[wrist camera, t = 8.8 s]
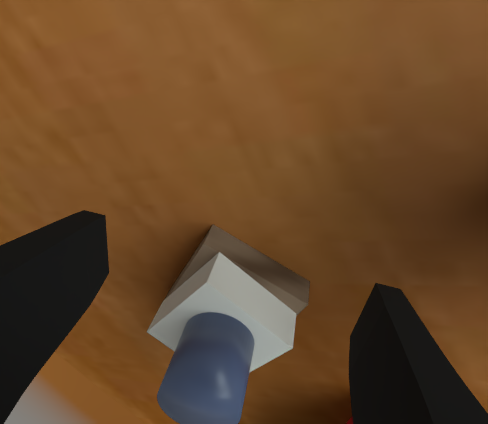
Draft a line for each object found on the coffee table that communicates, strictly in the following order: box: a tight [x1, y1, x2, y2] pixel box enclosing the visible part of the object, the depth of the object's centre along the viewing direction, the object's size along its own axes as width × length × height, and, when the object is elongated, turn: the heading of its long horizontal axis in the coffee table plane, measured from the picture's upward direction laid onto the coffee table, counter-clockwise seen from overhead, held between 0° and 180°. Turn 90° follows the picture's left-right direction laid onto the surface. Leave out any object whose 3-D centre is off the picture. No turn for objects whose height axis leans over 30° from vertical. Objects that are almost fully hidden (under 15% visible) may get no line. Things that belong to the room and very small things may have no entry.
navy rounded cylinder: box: [157, 312, 255, 424], centre depth 19 cm, size 4×4×4 cm
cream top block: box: [147, 252, 296, 372], centre depth 21 cm, size 6×6×2 cm
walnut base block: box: [165, 225, 310, 316], centre depth 24 cm, size 7×7×2 cm
